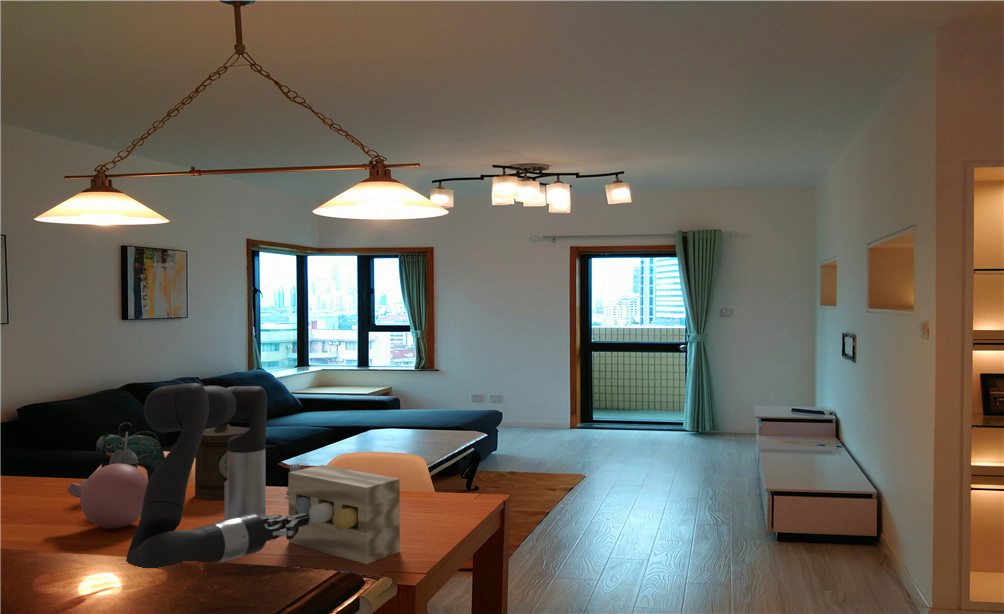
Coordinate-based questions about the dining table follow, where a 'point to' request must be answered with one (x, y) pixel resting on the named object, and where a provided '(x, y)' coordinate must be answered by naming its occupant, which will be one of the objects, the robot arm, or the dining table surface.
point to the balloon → (112, 495)
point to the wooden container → (213, 461)
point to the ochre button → (346, 518)
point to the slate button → (303, 505)
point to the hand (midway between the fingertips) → (306, 518)
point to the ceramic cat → (132, 449)
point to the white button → (322, 512)
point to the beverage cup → (124, 456)
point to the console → (346, 490)
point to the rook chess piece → (293, 468)
